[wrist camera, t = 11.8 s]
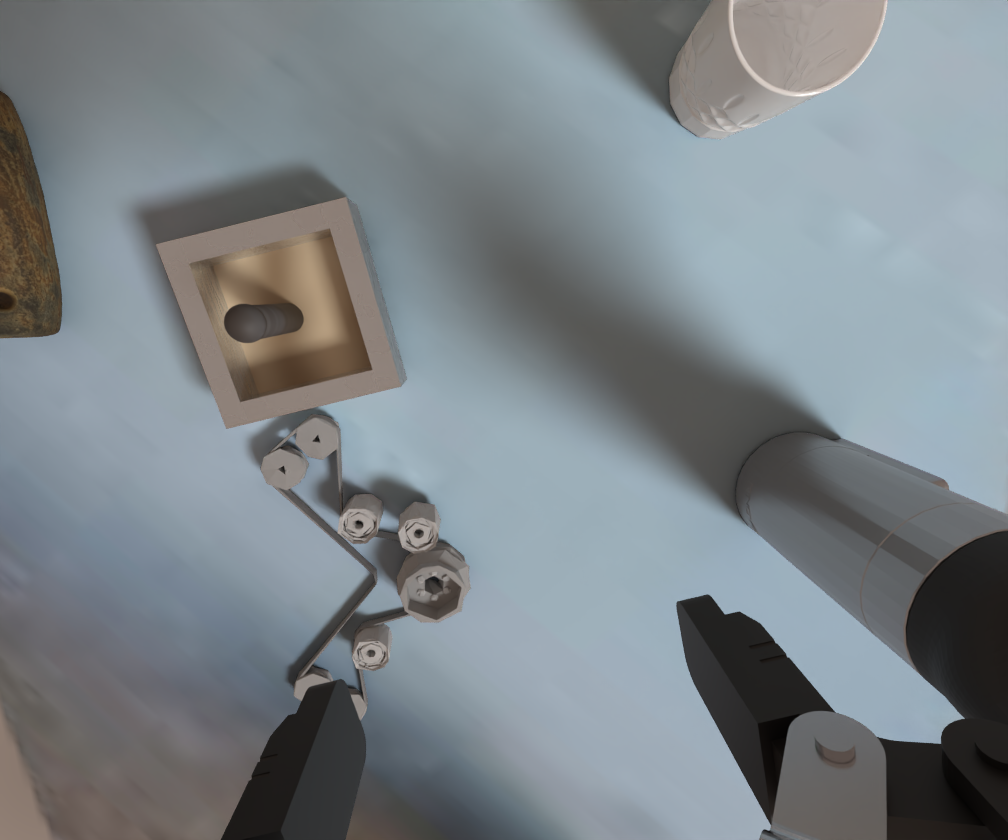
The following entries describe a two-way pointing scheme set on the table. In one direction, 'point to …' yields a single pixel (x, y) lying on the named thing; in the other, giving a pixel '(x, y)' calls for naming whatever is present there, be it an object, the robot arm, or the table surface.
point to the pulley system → (359, 527)
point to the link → (225, 356)
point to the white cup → (767, 59)
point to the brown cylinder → (24, 239)
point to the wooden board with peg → (292, 315)
